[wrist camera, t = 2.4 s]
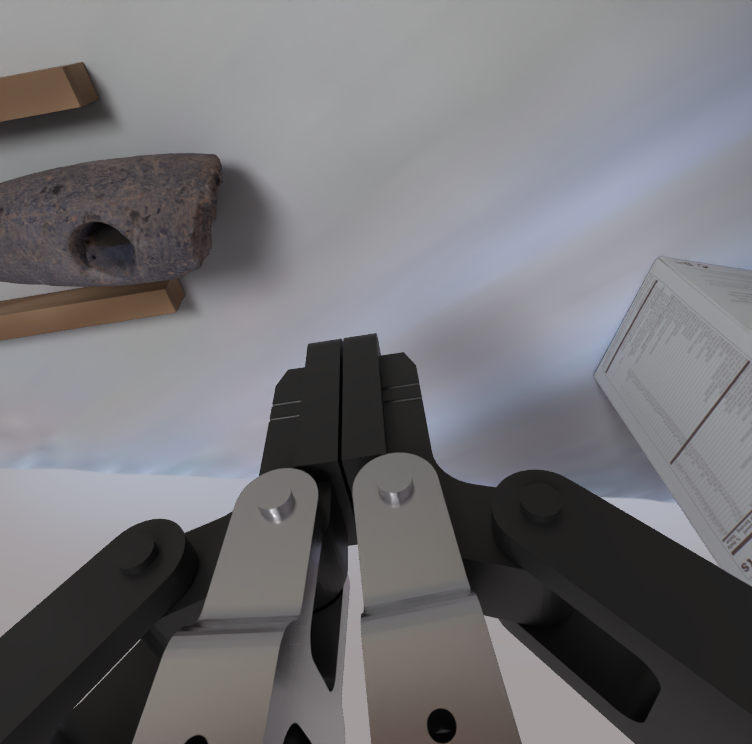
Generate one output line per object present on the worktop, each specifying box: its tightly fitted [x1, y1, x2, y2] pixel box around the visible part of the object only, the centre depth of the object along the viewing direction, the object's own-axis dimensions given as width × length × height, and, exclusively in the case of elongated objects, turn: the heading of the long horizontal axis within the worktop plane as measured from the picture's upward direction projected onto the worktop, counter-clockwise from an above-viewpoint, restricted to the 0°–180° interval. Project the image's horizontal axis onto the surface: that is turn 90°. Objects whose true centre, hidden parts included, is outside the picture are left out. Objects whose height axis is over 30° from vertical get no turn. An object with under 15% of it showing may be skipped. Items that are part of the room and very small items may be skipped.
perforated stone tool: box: [0, 153, 223, 286], centre depth 23 cm, size 15×5×7 cm, turn 94°
